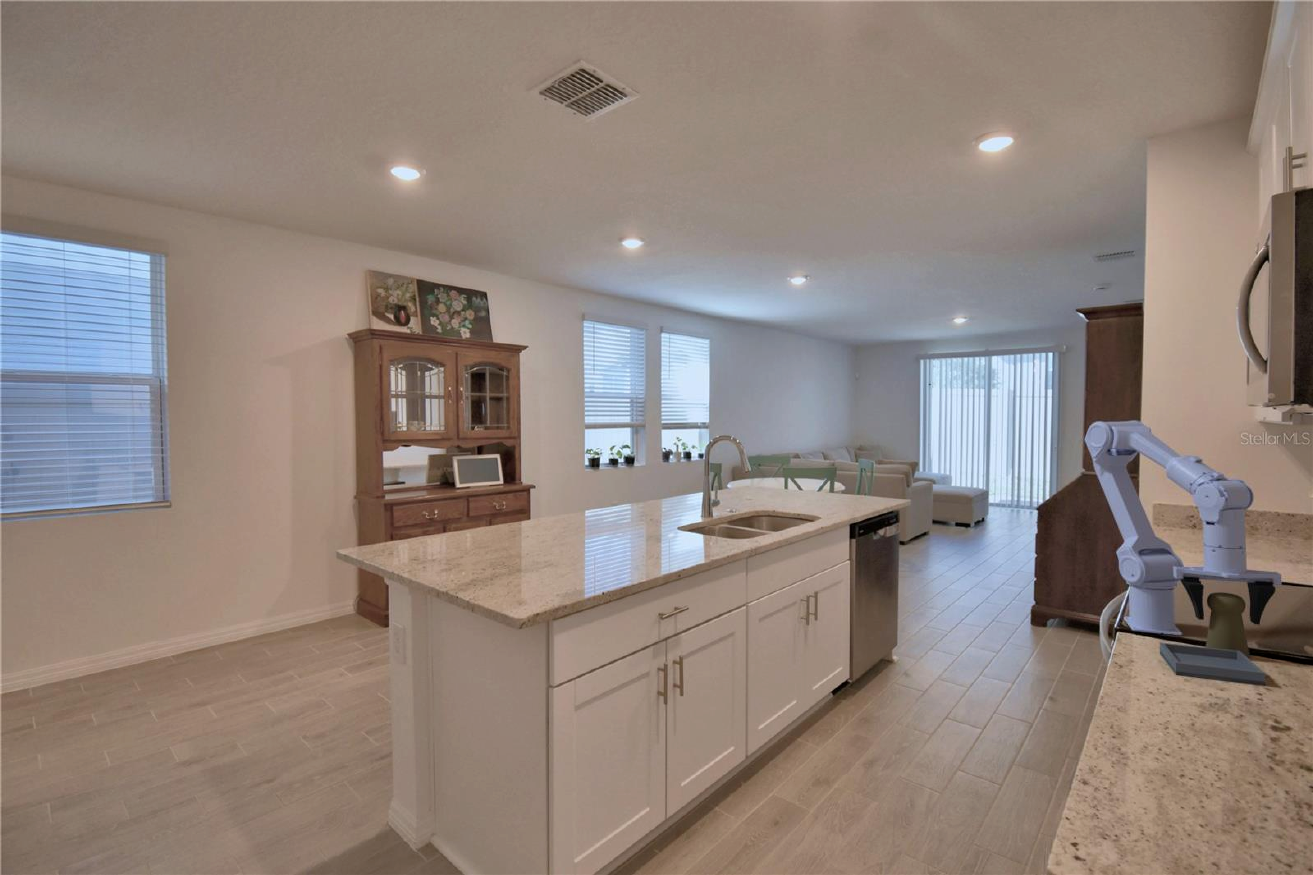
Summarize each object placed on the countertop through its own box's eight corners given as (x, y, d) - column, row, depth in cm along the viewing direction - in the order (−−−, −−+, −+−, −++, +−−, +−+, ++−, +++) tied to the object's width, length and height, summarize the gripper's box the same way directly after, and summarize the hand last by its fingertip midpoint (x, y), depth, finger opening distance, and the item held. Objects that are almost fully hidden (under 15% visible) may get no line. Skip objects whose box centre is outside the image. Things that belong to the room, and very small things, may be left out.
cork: (1252, 662, 109) (1251, 599, 109) (1206, 655, 112) (1205, 595, 112) (1247, 652, 114) (1245, 592, 113) (1203, 646, 117) (1201, 588, 117)
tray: (1159, 653, 114) (1159, 642, 114) (1240, 662, 109) (1239, 650, 109) (1175, 674, 104) (1175, 662, 104) (1265, 685, 99) (1265, 673, 99)
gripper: (1179, 547, 113) (1181, 622, 113) (1287, 552, 106) (1290, 631, 106) (1169, 541, 119) (1171, 612, 119) (1271, 545, 112) (1273, 620, 112)
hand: (1226, 620), depth 113 cm, fingers open, 7 cm apart
